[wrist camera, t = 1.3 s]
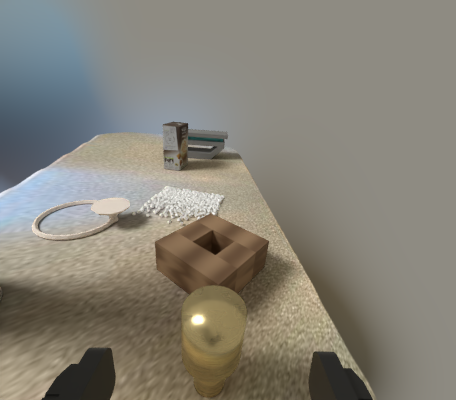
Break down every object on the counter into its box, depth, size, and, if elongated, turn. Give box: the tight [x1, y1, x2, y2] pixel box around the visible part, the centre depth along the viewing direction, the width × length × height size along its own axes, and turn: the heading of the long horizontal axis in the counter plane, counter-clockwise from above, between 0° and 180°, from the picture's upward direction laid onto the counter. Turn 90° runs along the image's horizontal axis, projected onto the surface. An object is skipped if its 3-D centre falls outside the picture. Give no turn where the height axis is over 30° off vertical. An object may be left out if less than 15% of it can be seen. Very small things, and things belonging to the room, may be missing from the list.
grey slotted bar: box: [188, 129, 228, 159], centre depth 106 cm, size 25×8×11 cm, turn 92°
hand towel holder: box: [32, 198, 130, 240], centre depth 55 cm, size 17×4×21 cm
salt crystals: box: [132, 186, 225, 226], centre depth 65 cm, size 20×20×2 cm
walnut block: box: [155, 213, 269, 294], centre depth 43 cm, size 14×14×6 cm
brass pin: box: [181, 285, 247, 398], centre depth 25 cm, size 6×6×12 cm
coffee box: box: [163, 122, 188, 171], centre depth 90 cm, size 9×6×16 cm
